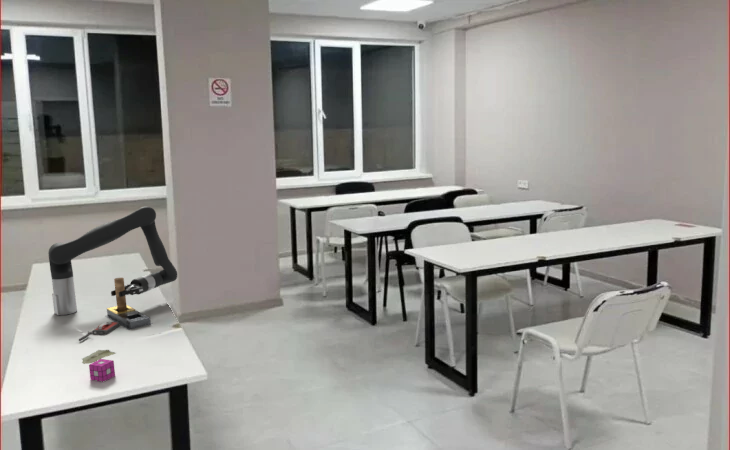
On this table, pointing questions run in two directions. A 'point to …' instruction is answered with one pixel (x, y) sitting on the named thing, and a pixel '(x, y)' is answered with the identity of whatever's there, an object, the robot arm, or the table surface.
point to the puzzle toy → (102, 370)
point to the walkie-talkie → (102, 329)
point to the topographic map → (97, 356)
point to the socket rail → (128, 317)
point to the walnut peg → (118, 288)
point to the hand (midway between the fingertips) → (115, 294)
